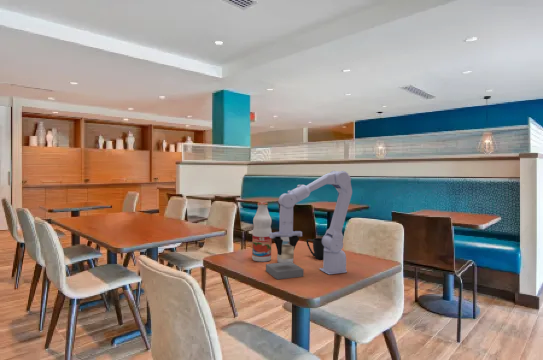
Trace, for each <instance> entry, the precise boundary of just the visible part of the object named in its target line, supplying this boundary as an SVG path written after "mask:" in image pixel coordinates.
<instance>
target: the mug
mask: <svg viewBox="0 0 543 360" xmlns="http://www.w3.org/2000/svg"><path fill="white" fill-rule="evenodd" d="M322 238H323V237H316V238H313V239H311V238H307V239H306V245H307V248H308V250H309V252H310V253H311V255H312V256H313V257H314V258H315V259H316V260H322V261H323V258H324V246H323V245H322ZM309 241H311V242H312V248H311V246H310V243H309ZM312 249H313V251H312Z"/></svg>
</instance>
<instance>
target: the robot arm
mask: <svg viewBox="0 0 543 360" xmlns="http://www.w3.org/2000/svg"><path fill="white" fill-rule="evenodd" d="M351 181H352V177H351V176H350V175H349V173H348V172H347V171H344V170H332V171H330V172H328V173H325V174H324V175H322V176H320V177H318V178H317V179H315V180H314V181H312V182H310V183H308V184H307V185H305V184H297V186H296V188H292V189H291V190H287V193H285V192H284V193H282V194H281V195H279V198H278V200H277V202H278V204H279V231H275V232H272V233H269V238H272V240H273V241H274V244H275V247H276V251H277V252H278V254H279V255H281V253H282V242H283V240H282V239H281V237H289V242H290V245H292V246H294V250H295V248H296V245H297V244H298V242H299V240H300V238H299V237H303V231H301V230H295V231H294V207H295V205H296V204H297V203H299V202H301V201H303V200H305V199H306V198H308V197H309V196H310V194H311V192H313V191H316V190H318V189H319V188H322V187H324V186H325V185H331V186H333V187H334V188H335V190H336V191H337V192H338V196H337V201H336V204H335V207H334V210H333V214H332V216H331V217H332V218H331V222H330V225H329V228H327V229H326V231H325V234H324V235H323V236H322V237H321V238H322V245H323V246H324V258H323V260H322V261H323V262H322V265H323V266H322V267H319V269H318V270H320V271H322V272H323V273H325V274H327V275H335V274H344V273H347V272H348V271H347V256H346V252H345V251H344V250H343V248H344V235H343V227H344V223H345V221H346V217H347V214H348V210H349V207H350V206H349V205H350V203H351V199H352V195H353V187H352V182H351Z"/></svg>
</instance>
